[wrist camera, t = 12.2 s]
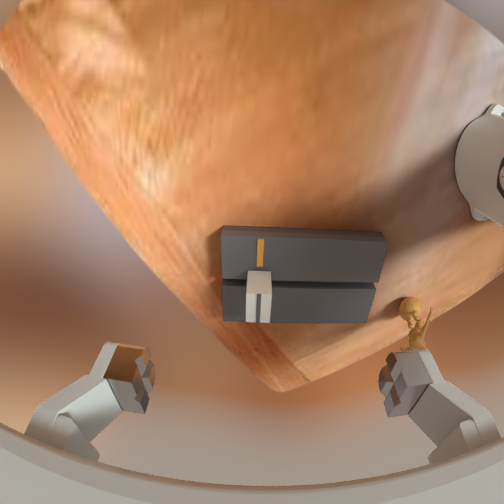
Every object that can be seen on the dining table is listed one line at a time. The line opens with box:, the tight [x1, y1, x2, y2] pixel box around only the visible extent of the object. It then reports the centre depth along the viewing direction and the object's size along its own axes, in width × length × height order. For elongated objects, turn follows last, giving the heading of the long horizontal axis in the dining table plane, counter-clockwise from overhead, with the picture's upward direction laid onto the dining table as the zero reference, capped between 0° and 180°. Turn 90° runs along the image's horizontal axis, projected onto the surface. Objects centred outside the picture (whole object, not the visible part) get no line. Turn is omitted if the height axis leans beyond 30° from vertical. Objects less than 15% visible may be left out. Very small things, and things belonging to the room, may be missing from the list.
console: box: [221, 226, 388, 323], centre depth 43 cm, size 22×14×3 cm, turn 88°
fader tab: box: [246, 271, 272, 323], centre depth 40 cm, size 3×4×7 cm, turn 178°
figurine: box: [399, 297, 432, 351], centre depth 42 cm, size 8×6×12 cm
